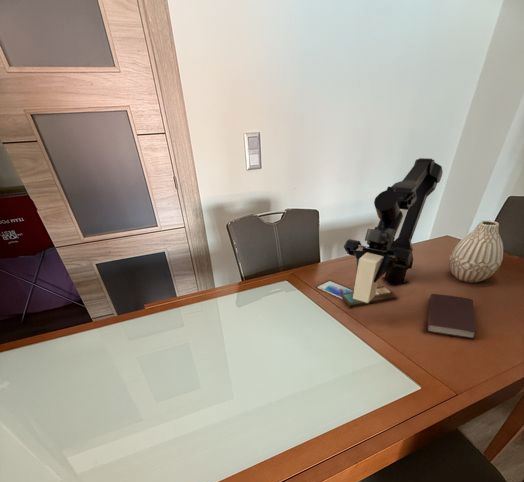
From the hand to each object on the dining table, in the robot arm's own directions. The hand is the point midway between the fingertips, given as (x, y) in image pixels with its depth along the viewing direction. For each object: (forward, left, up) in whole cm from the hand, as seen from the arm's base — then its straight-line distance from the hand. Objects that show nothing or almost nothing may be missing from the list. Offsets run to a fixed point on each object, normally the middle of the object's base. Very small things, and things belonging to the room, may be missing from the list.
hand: (365, 279), depth 88 cm
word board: (-9, -12, -15) cm, 21 cm away
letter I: (-1, -1, -7) cm, 7 cm away
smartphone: (-2, -20, -15) cm, 25 cm away
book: (-27, +8, -15) cm, 31 cm away
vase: (-51, -13, -15) cm, 54 cm away
